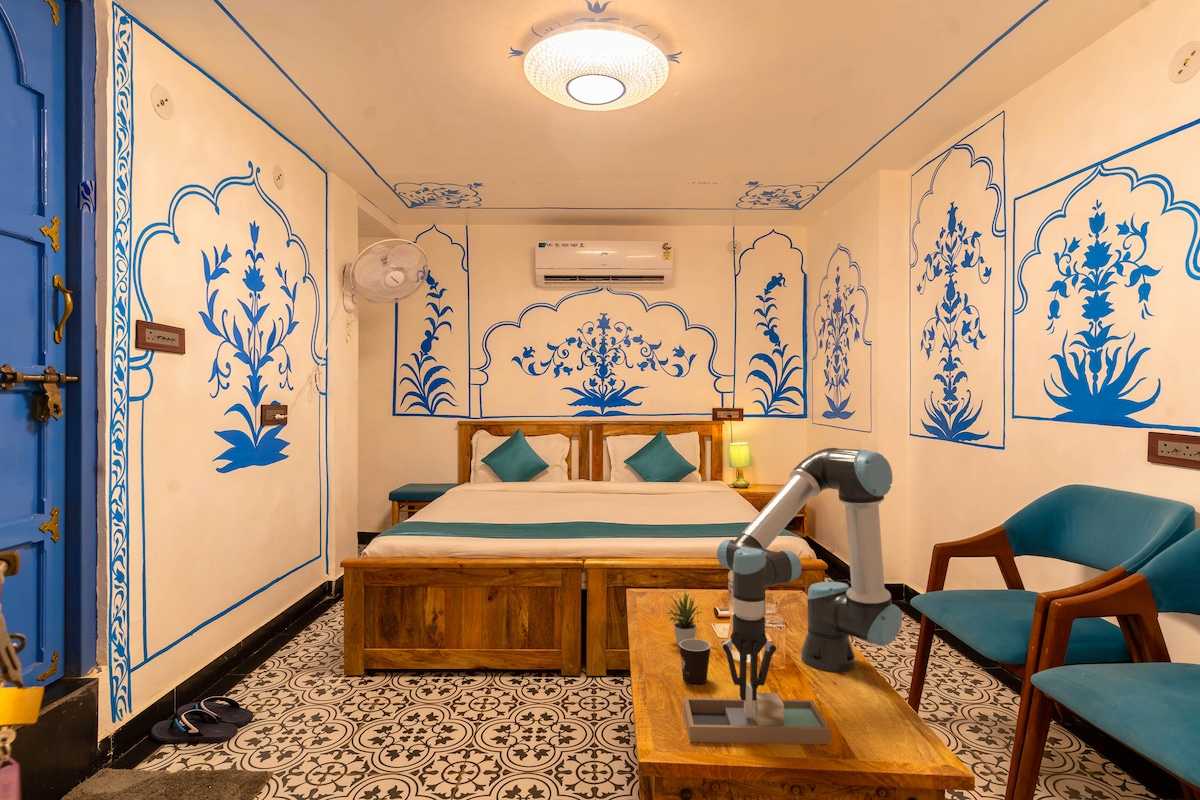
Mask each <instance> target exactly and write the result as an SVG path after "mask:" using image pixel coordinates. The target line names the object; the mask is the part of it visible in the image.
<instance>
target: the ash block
mask: <svg viewBox="0 0 1200 800" xmlns="http://www.w3.org/2000/svg"><path fill="white" fill-rule="evenodd" d="M781 699H782V698H781V697H780V695H779V692H757V699H756V700H753V715H754V717H755V720H756V722H757V724H758V726H784V704H783V702H782V700H781Z"/></svg>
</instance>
